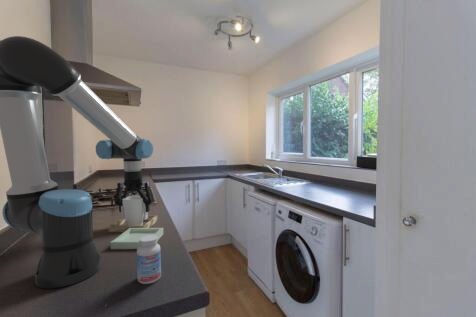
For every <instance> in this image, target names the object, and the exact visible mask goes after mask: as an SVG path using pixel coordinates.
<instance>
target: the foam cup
mask: <svg viewBox="0 0 476 317" xmlns="http://www.w3.org/2000/svg"><path fill="white" fill-rule="evenodd" d="M122 202H123V206H124V212H125V217H126V222H125V223H126V226H144V224H143V223H144V221H143V216H144V211H143V206H144V205H145V204H144V202H143V198H141V197H140V195H129V196H127V198H126V199H124V198H123V199H122Z"/></svg>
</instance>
